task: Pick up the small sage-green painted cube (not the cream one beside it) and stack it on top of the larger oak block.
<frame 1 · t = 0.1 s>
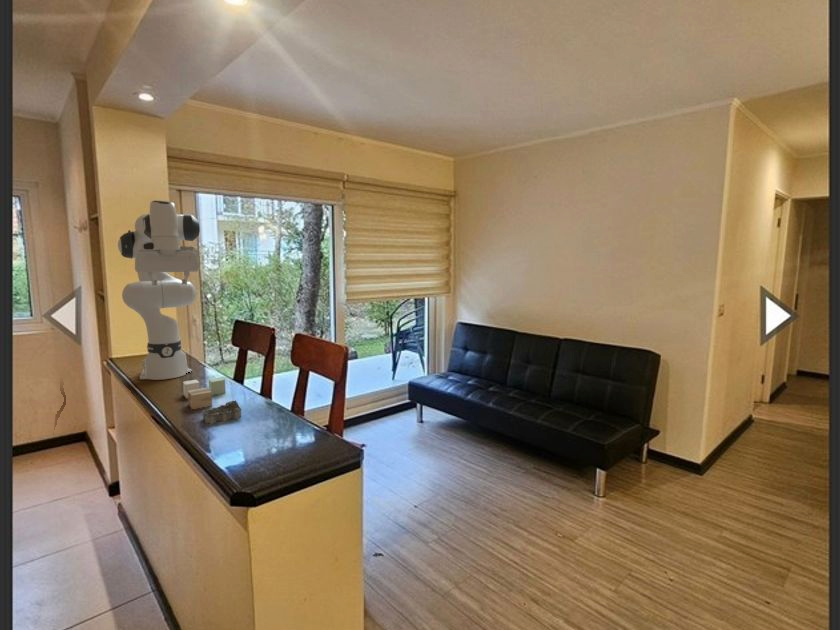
hand: (169, 284, 160), 39 cm above the table, tool pointing down, fingers open, 8 cm apart
cream cube: (192, 395, 159), on the table
green cube: (217, 392, 162), on the table
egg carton: (222, 419, 138), on the table
oak block: (200, 405, 148), on the table
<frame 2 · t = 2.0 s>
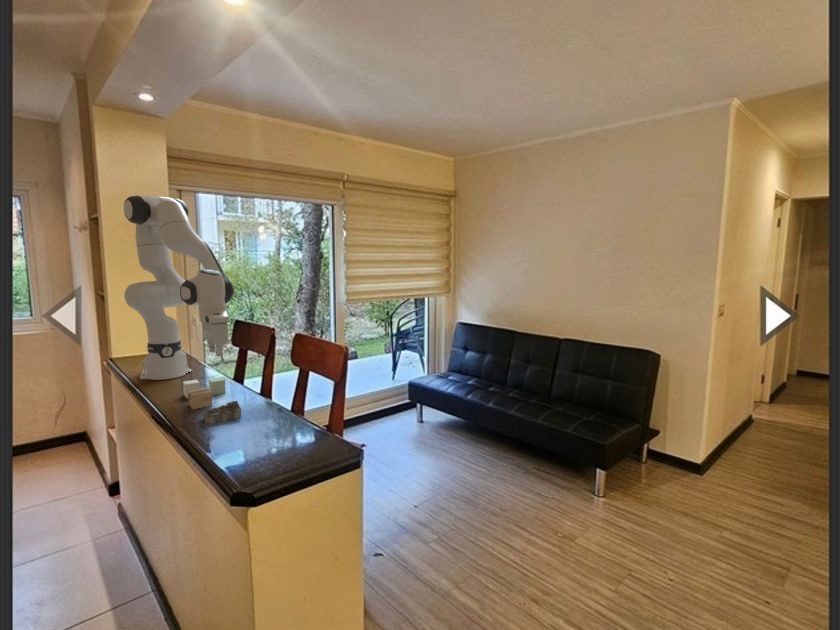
hand: (215, 353, 160), 14 cm above the table, tool pointing down, fingers open, 8 cm apart
nothing on the table moved.
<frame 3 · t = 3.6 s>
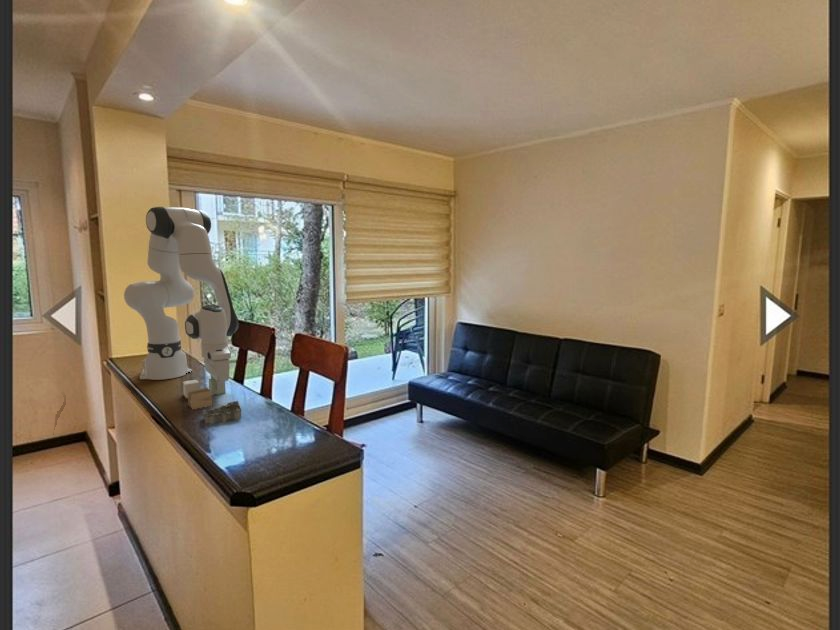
hand: (217, 387, 162), 2 cm above the table, tool pointing down, fingers closed on green cube, 4 cm apart
green cube: (217, 392, 162), on the table, touching gripper
everything else where it was.
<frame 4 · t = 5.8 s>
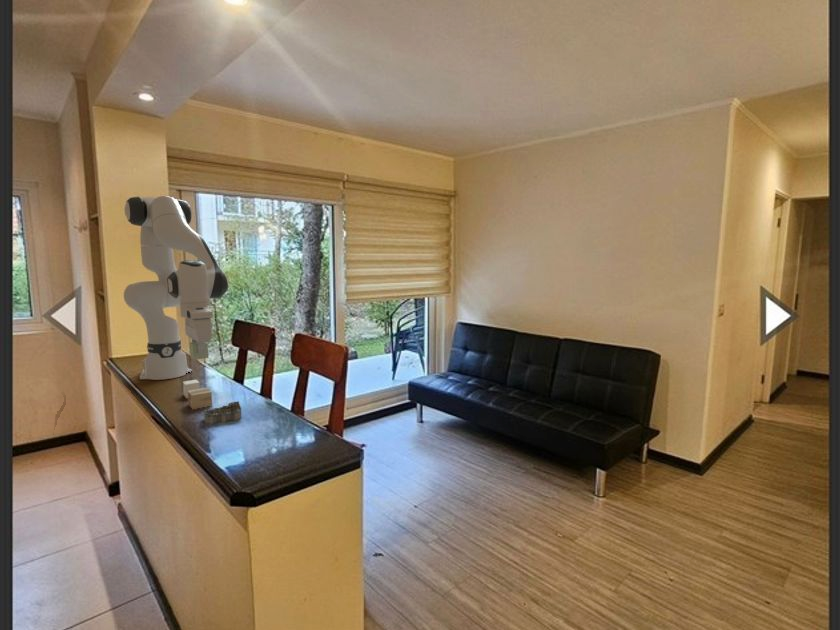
hand: (198, 352, 146), 18 cm above the table, tool pointing down, fingers closed on green cube, 4 cm apart
green cube: (199, 357, 147), point 16 cm above the table, touching gripper
everything else where it was.
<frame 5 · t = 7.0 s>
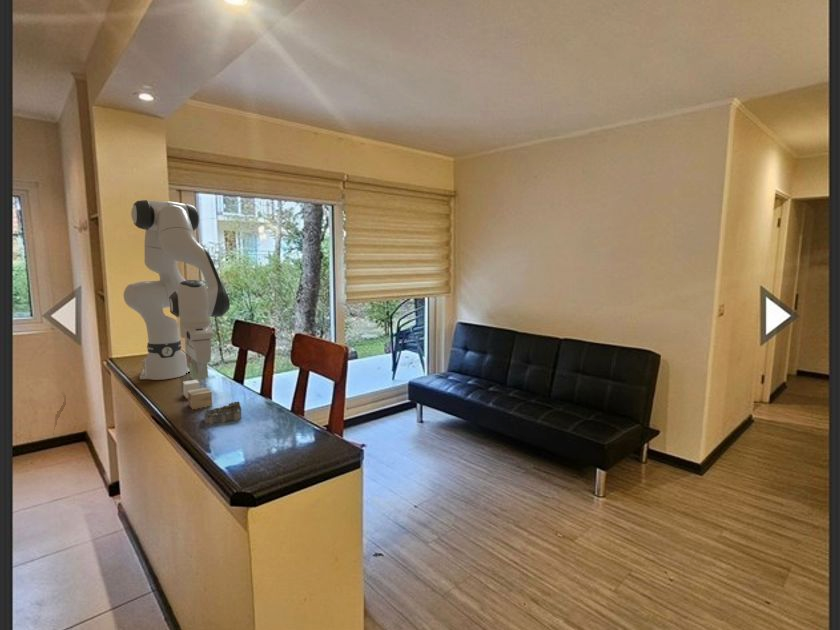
hand: (198, 372, 147), 11 cm above the table, tool pointing down, fingers closed on green cube, 4 cm apart
green cube: (198, 377, 147), point 10 cm above the table, touching gripper
everything else where it was.
when the fingers open (8 cm above the table, at t = 8.0 s): green cube drops 1 cm, resting on oak block.
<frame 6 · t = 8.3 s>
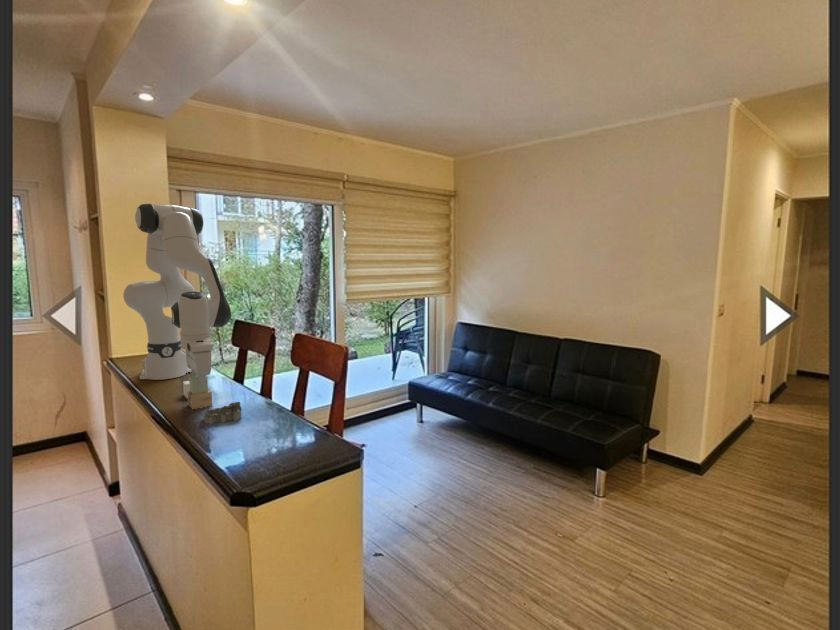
hand: (198, 382, 147), 8 cm above the table, tool pointing down, fingers open, 7 cm apart
green cube: (199, 391, 148), point 5 cm above the table, touching oak block
oak block: (200, 405, 148), on the table, touching green cube
everything else where it was.
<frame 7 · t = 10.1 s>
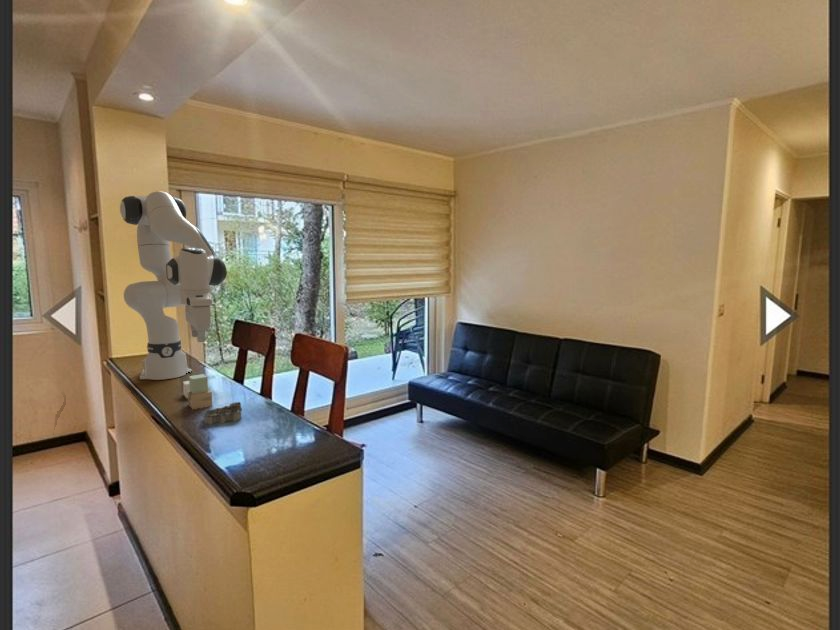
hand: (198, 339, 148), 22 cm above the table, tool pointing down, fingers open, 8 cm apart
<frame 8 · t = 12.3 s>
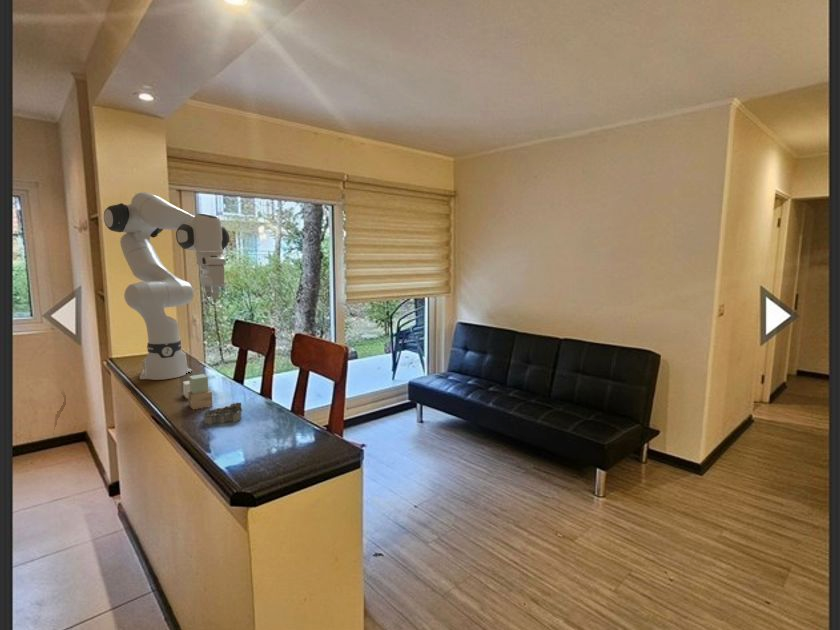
hand: (212, 298, 161), 34 cm above the table, tool pointing down, fingers open, 8 cm apart
green cube: (199, 391, 148), point 5 cm above the table
oak block: (200, 405, 148), on the table
at the end: green cube 0.3 cm off-centre on the oak block, point 5.0 cm above the oak block's base; green cube tilted 0°; the gripper is holding nothing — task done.
